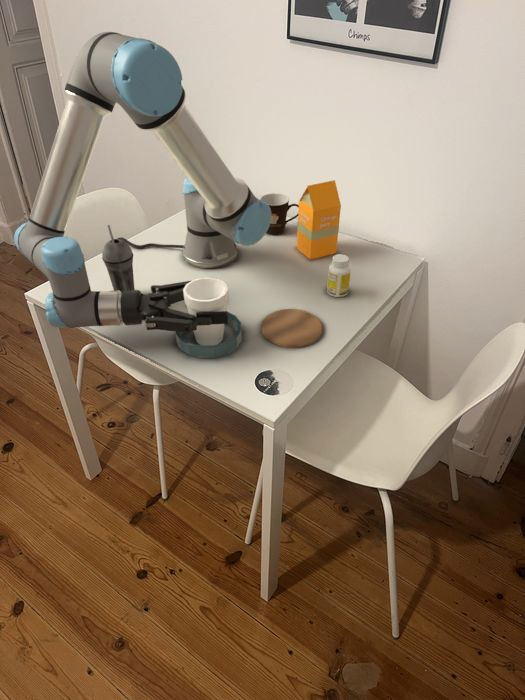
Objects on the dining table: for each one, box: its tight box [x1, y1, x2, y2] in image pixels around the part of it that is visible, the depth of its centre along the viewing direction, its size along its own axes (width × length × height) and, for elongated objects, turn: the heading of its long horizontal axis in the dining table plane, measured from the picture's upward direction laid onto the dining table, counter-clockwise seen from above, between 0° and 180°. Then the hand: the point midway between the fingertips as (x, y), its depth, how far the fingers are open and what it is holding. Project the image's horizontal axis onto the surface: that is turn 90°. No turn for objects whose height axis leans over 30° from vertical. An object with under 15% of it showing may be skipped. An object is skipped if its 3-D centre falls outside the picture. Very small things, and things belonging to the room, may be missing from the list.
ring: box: [174, 310, 243, 360], centre depth 119 cm, size 15×15×3 cm
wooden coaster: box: [261, 308, 323, 349], centre depth 123 cm, size 14×14×1 cm
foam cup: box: [183, 277, 229, 346], centre depth 116 cm, size 10×9×13 cm
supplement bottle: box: [326, 253, 352, 298], centre depth 132 cm, size 5×5×10 cm
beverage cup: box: [101, 224, 136, 293], centre depth 127 cm, size 7×7×20 cm
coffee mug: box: [259, 192, 299, 236], centre depth 158 cm, size 12×9×10 cm
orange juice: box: [296, 179, 342, 261], centre depth 146 cm, size 8×9×20 cm
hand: (227, 304), depth 115 cm, fingers closed on foam cup, 9 cm apart
